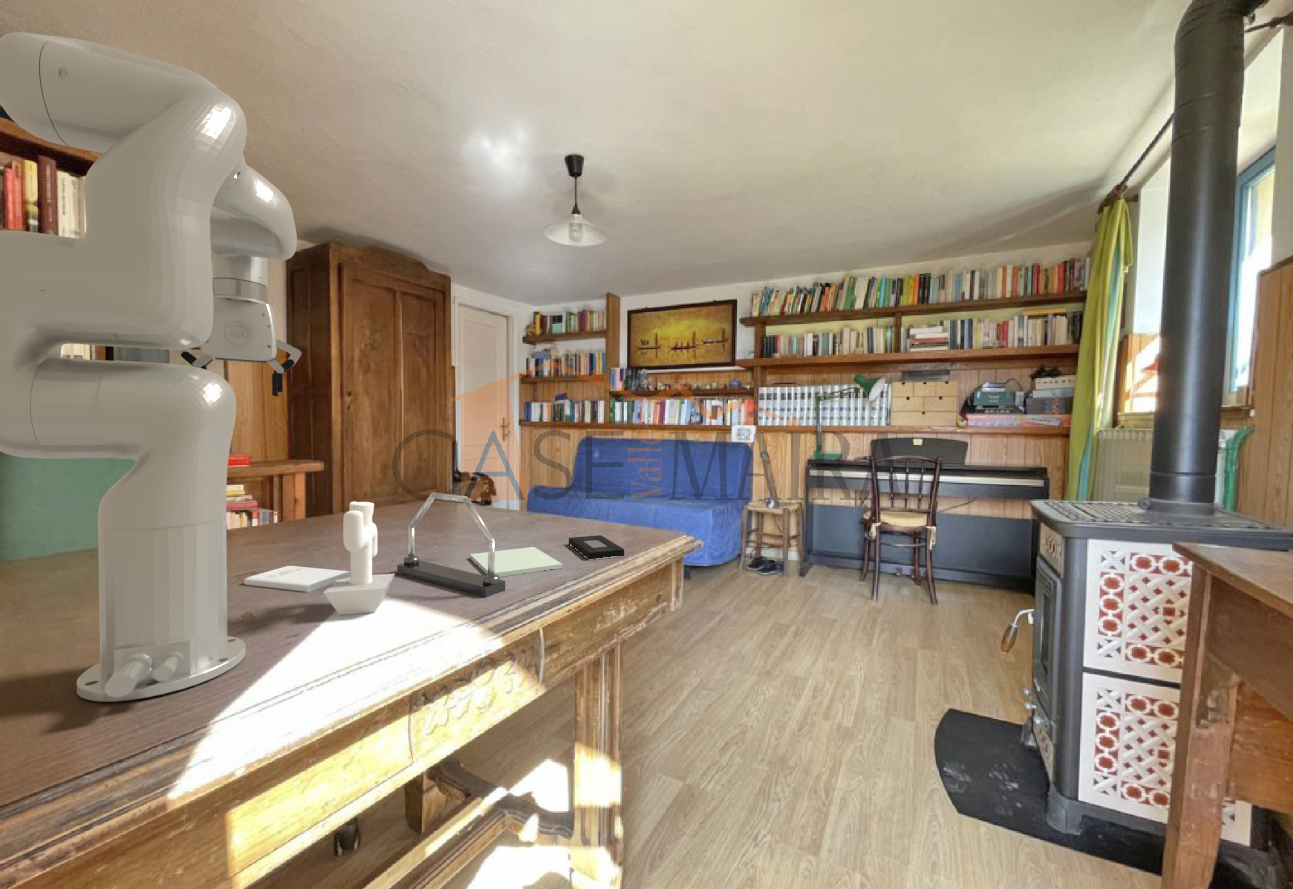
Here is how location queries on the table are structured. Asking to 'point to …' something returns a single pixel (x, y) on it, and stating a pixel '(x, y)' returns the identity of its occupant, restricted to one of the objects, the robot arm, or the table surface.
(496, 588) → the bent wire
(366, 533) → the figurine
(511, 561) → the mat
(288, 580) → the external hard drive
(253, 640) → the table surface
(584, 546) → the vhs tape
